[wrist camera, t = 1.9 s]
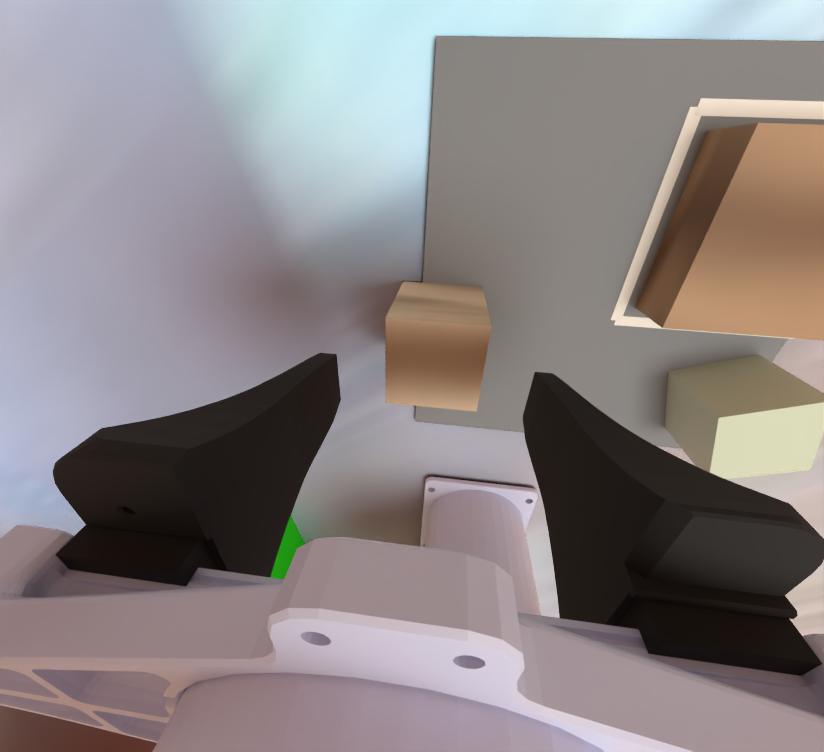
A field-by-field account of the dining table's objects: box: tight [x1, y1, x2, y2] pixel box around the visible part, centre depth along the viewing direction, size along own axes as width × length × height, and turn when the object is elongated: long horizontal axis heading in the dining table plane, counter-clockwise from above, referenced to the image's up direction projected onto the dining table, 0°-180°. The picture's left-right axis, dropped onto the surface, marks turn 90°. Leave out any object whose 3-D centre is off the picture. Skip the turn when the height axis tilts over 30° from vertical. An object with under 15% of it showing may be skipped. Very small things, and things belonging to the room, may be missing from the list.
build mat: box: [415, 36, 824, 449], centre depth 16 cm, size 18×18×1 cm
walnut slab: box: [636, 123, 824, 340], centre depth 13 cm, size 7×7×2 cm
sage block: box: [665, 355, 824, 479], centre depth 17 cm, size 4×4×4 cm
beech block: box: [385, 281, 492, 412], centre depth 16 cm, size 4×4×5 cm
